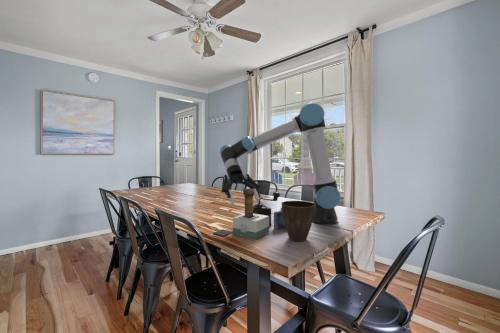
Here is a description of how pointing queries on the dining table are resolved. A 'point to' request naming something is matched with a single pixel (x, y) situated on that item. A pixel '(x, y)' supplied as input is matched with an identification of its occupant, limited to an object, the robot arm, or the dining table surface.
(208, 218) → the dining table surface
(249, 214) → the brown knobbed cylinder
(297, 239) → the plant pot
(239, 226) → the tissue box
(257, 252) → the dining table surface
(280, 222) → the flask
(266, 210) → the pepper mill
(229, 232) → the mat
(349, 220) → the dining table surface
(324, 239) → the dining table surface
